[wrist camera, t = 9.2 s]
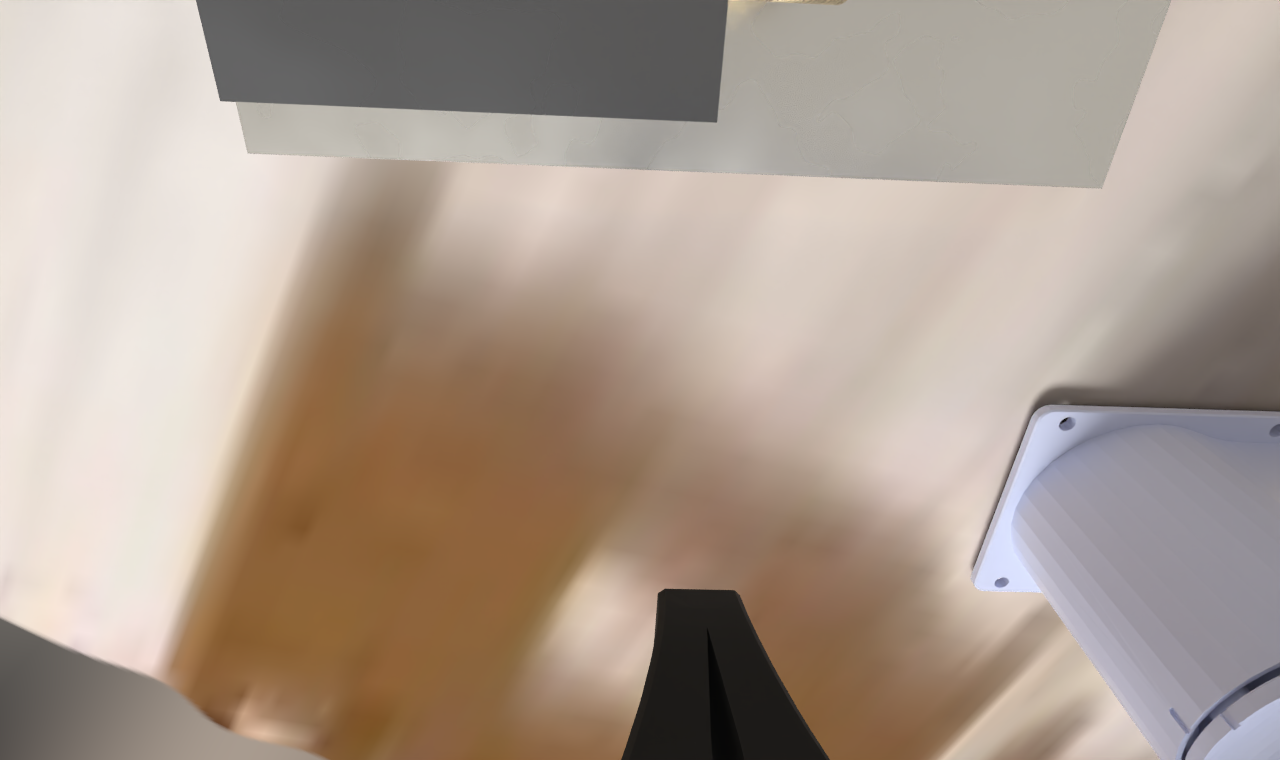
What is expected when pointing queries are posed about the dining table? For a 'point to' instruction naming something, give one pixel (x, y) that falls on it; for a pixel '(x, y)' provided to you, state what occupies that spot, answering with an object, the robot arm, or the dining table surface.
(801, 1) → the shaft
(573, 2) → the bearing block
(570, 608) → the dining table surface
